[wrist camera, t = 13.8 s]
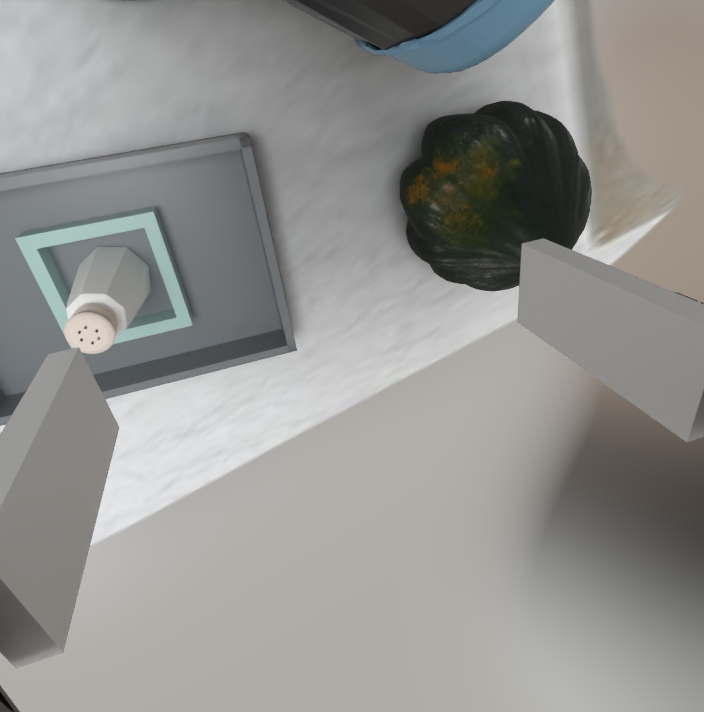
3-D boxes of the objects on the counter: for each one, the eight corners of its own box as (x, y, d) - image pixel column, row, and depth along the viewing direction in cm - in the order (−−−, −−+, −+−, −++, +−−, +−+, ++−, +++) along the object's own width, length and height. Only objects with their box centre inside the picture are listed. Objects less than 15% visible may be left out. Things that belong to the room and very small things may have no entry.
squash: (492, 19, 32) (504, 183, 26) (615, 129, 40) (647, 279, 33) (373, 151, 44) (362, 288, 37) (486, 219, 51) (492, 344, 45)
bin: (-125, 194, 32) (-168, 207, 28) (244, 132, 36) (249, 136, 33) (5, 398, 41) (-15, 429, 37) (288, 329, 45) (296, 350, 41)
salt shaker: (70, 294, 37) (26, 358, 28) (90, 232, 36) (50, 279, 27) (140, 317, 40) (122, 384, 31) (162, 260, 38) (150, 312, 29)
